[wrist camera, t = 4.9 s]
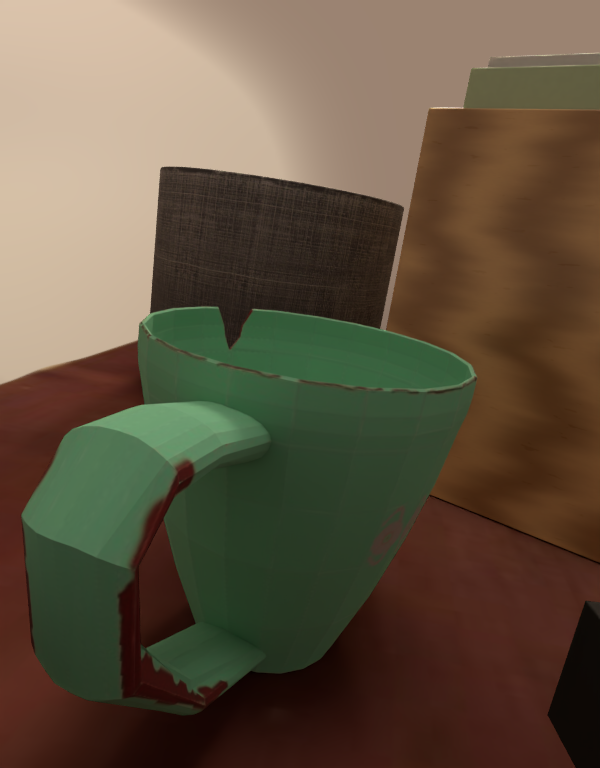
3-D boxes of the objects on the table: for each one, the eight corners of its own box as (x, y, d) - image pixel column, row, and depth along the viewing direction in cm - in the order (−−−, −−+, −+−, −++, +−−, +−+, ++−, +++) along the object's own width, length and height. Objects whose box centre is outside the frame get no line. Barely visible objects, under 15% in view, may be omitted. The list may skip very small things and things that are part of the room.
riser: (672, 479, 40) (778, 188, 34) (664, 589, 25) (845, 111, 20) (458, 413, 48) (517, 170, 43) (359, 466, 33) (428, 107, 28)
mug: (214, 517, 25) (241, 299, 23) (428, 593, 22) (488, 350, 19) (-132, 800, 12) (-167, 348, 9) (284, 1095, 9) (412, 538, 6)
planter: (189, 352, 54) (205, 184, 50) (367, 384, 53) (400, 214, 48) (100, 401, 37) (114, 154, 33) (360, 452, 36) (409, 198, 31)
